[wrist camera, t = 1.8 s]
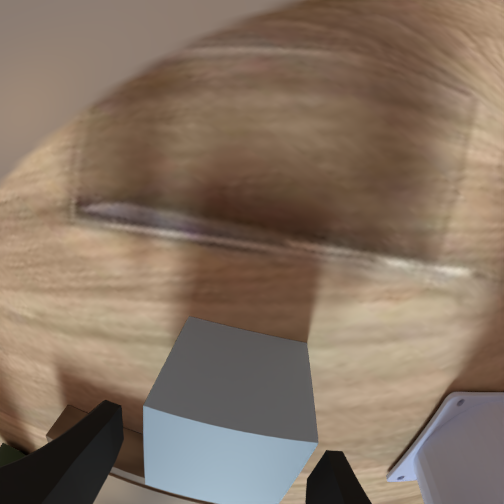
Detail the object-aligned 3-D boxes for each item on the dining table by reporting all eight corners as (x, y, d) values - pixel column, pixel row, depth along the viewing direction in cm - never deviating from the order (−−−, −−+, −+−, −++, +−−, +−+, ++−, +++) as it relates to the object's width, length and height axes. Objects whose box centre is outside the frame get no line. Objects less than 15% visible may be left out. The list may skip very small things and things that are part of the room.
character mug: (-19, 415, 19) (-84, 493, 6) (17, 426, 18) (-55, 526, 5) (39, 485, 22) (-4, 561, 9) (82, 499, 21) (39, 590, 8)
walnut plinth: (241, 460, 16) (234, 502, 13) (215, 522, 19) (209, 552, 16) (68, 404, 16) (44, 437, 13) (90, 483, 19) (77, 509, 16)
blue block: (306, 342, 13) (318, 442, 8) (276, 420, 14) (272, 511, 9) (189, 315, 13) (143, 405, 8) (178, 398, 15) (145, 484, 9)
